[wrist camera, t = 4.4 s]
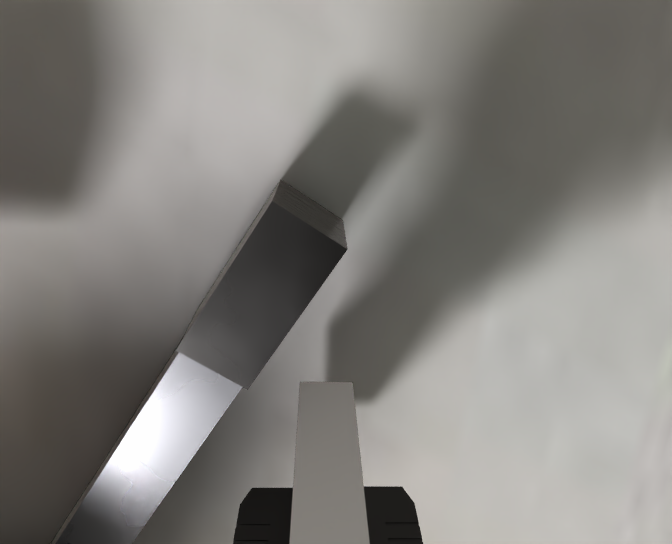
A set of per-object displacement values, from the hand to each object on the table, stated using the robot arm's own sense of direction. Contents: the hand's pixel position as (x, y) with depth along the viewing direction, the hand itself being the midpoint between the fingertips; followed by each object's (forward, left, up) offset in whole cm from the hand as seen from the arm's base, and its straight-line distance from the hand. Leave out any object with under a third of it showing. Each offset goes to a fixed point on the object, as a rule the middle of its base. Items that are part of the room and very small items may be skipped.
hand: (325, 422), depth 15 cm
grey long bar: (+2, -7, -1) cm, 7 cm away
